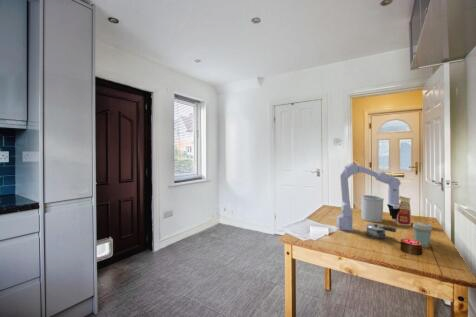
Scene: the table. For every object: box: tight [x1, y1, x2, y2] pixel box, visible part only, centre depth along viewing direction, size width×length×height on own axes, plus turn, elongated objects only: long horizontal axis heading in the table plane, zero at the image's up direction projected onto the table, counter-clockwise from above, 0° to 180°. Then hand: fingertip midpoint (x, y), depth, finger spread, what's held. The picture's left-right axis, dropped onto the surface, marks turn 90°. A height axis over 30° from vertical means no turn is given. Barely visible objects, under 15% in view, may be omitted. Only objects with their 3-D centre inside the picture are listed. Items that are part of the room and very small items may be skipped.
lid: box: [365, 223, 397, 233], centre depth 141 cm, size 16×11×2 cm
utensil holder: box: [360, 194, 385, 223], centre depth 175 cm, size 15×15×18 cm
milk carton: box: [394, 195, 412, 227], centre depth 166 cm, size 9×9×20 cm
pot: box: [366, 227, 386, 240], centre depth 142 cm, size 17×10×5 cm, turn 170°
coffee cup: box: [412, 221, 433, 249], centre depth 128 cm, size 8×8×12 cm
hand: (393, 217), depth 147 cm, fingers open, 7 cm apart
